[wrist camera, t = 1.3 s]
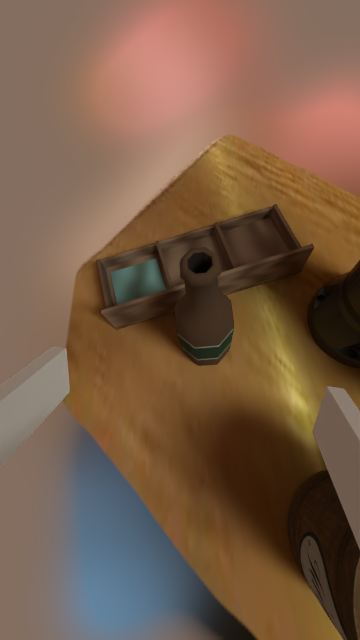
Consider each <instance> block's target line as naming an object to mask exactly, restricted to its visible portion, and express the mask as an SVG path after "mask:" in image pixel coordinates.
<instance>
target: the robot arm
mask: <svg viewBox="0 0 360 640" xmlns="http://www.w3.org/2000/svg"><path fill="white" fill-rule="evenodd" d="M308 324H309V328H310V331H311V333H312V335H313V337H314V339H315V341H316V342H317V343H318V345H319V346H320V347H321V348H322V349H323V350H324V351H325V352H326V353H327V354H328V355H330V356H331V357H332V358H334V359H336V360H337V361H339V362H341V363H343V364H346V365H348V366H352V367H356V368H360V261H359V262H358V263H357V264H356V265H355V266H354V268H353V269H352V270H351V271H350V272H348V273H345V274H343V275H341V276H339V277H336V278H334V279H332V280H330V281H329V282H327V283H326V284H325V285H324V286H322V287H321V288H320V290H319V291H318V292H317V293H316V295H315V296H314V298H313V299H312V301H311V303H310V306H309V309H308ZM69 392H70V387H69V375H68V363H67V352H66V348H63V347H55V346H52V347H51V348H50V349H48V350H47V351H45V352H44V353H43V354H41V355H40V356H39V357H37V358H36V359H34V360H33V361H32V362H30V363H29V364H28V365H26V366H25V367H24V368H22V369H21V370H20V371H18V372H17V373H15V374H14V375H13V376H11V377H10V378H9V379H7V380H6V381H5V382H3V383H2V384H1V385H0V468H1V467H2V466H3V465H4V464H5V463H6V462H7V461H8V460H9V459H10V458H11V456H12V455H13V454H14V453H15V452H16V451H17V450H18V449H19V448H20V446H21V445H22V444H23V443H24V442H25V441H26V440H27V439H28V437H29V436H30V435H31V434H32V433H33V432H34V431H35V430H36V429H37V427H38V426H39V425H40V424H41V423H42V422H43V421H44V420H45V419H46V418H47V416H48V415H49V414H50V413H51V412H52V411H53V410H54V408H56V406H57V405H58V404H59V403H60V402H61V401H62V400H63V399H64V398H65V397H66V395H67V394H68V393H69ZM313 435H314V437H315V440H316V442H317V445H318V447H319V450H320V452H321V455H322V457H323V459H324V462H325V464H326V467H327V469H328V472H329V474H330V477H331V479H332V482H333V484H334V487H335V489H336V492H337V494H338V497H339V499H340V502H341V504H342V507H343V509H344V512H345V514H346V517H347V519H348V522H349V524H350V527H351V529H352V532H353V534H354V537H355V539H356V542H357V544H358V547H359V549H360V411H359V409H358V408H357V406H356V405H355V404H354V402H353V401H352V399H351V398H350V396H349V395H348V393H347V392H346V391H345V389H343V388H337V387H330V386H327V388H326V391H325V394H324V397H323V400H322V403H321V407H320V410H319V413H318V416H317V419H316V422H315V426H314V429H313Z"/></svg>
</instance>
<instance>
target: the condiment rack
mask: <svg viewBox="0 0 360 640" xmlns="http://www.w3.org/2000/svg"><path fill="white" fill-rule="evenodd" d="M201 247H206V248H208V249H209V250H211V251H212V252H214V253H215V254H217V256H218V257H219V260H220V268H221V274H220V275H219V276H218V288H219V291H220V292H221V293H223V294H224V295H228V294H231V293H234V292H237V291H241V290H244V289H247V288H250V287H253V286H256V285H260V284H263V283H266V282H269V281H272V280H276V279H279V278H282V277H285V276H288V275H291V274H295V273H298V272H301V270H302V268H303V267H304V265H305V263H306V261H307V259H308V257H309V256H310V254H311V252H312V250H313V248H314V246H313V244H311V245H307V246H304V247H301V246H300V244H299V242H298V240H297V239H296V237H295V235H294V234H293V232H292V230H291V228H290V227H289V225H288V223H287V222H286V220H285V218H284V216H283V215H282V213H281V211H280V210H279V208H278V206H277V204H275V205H273V206H272V207H268V208H265V209H262V210H259V211H256V212H252V213H249V214H246V215H243V216H240V217H236V218H233V219H230V220H227V221H224V222H220V223H218V222H217V223H214V225H211V226H208V227H204V228H201V229H198V230H195V231H192V232H188V233H185V234H182V235H179V236H176V237H172V238H169V239H166V240H163V241H160V242H159V241H156V243H153V244H150V245H147V246H144V247H140V248H137V249H134V250H131V251H128V252H124V253H121V254H118V255H115V256H112V257H108V258H105V259H102V260H100V259H99V260H96V261H97V266H98V271H99V276H100V281H101V286H102V291H103V296H104V301H105V306H106V309H104V310H101V313H102V315H103V316H104V317H105V318H106V319H107V320H108V321H109V322H110V323H111V324H112V325H113V326H114V327H115V328H116V329H120V328H123V327H126V326H129V325H133V324H136V323H139V322H142V321H145V320H148V319H152V318H155V317H158V316H161V315H164V314H168V313H171V312H174V311H175V305H176V303H177V302H178V301H179V300H180V299H181V298H182V297H183V296H184V294H185V282H184V280H183V279H181V278H180V264H179V263H180V260H181V258H182V257H183V256H184V255H185V254H186V253H187V252H188V251H189V250H190V249H192V248H201Z"/></svg>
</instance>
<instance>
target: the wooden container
mask: <svg viewBox="0 0 360 640" xmlns="http://www.w3.org/2000/svg"><path fill="white" fill-rule="evenodd" d="M288 534H289V540H290V545H291V549H292V552H293V555H294V558H295V560H296V562H297V564H298V566H299V568H300V570H301V572H302V574H303V575H304V577H305V579H306V581H307V582H308V584H309V586H310V587H311V589H312V591H313V593H314V594H315V596H316V598H317V599H318V601H319V603H320V604H321V606H322V607H323V609H324V611H325V612H326V614H327V615H328V617H329V619H330V620H331V622H332V623H333V625H334V626H335V628H336V629H337V630H338V632H339V633H340V635H341V636H342V638H343V639H344V640H360V549H359V547H358V544H357V542H356V539H355V537H354V534H353V532H352V529H351V527H350V524H349V522H348V519H347V517H346V514H345V512H344V509H343V507H342V504H341V502H340V499H339V497H338V494H337V492H336V489H335V487H334V484H333V482H332V479H331V477H330V474H329V472H328V470H325V471H321V472H319V473H316V474H314V475H313V476H311V477H310V478H308V479H307V480H306V481H305V482H304V483H303V484H302V485H301V486H300V487H299V489H298V490H297V492H296V493H295V495H294V497H293V500H292V502H291V505H290V509H289V516H288Z"/></svg>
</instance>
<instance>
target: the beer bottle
mask: <svg viewBox="0 0 360 640" xmlns="http://www.w3.org/2000/svg"><path fill="white" fill-rule="evenodd" d="M179 264H180V278H181V279H183V280H184V282H185V294H184V296H183V297H182V298H181V299H180V300H179V301H178V302H177V303H176V305H175V318H176V331H177V335H178V338H179V340H180V343H181V346H182V349H183V351H184V353H185V354H186V355H187V356H188V357H189V358H190V359H191V360H193V361H194V362H195V363H196V364H197V365H199V366H202V365H215V364H218V363H219V362H220V360H221V359H222V358H223V357H224V356H225V355H226V353H227V352H228V351H229V349H230V345H231V340H232V335H233V330H234V320H233V313H232V305H231V300H230V299H229V298H228V297H227V296H225V295H224V294H223V293H221V292H220V291H219V288H218V276H219V275H220V274H221V268H220V260H219V257H218V256H217V254H215V253H214V252H212V251H211V250H209V249H208V248H206V247H201V248H192V249H190V250H189V251H188V252H187V253H186V254H185V255H184V256H183V257H182V258H181V260H180V263H179Z"/></svg>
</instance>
